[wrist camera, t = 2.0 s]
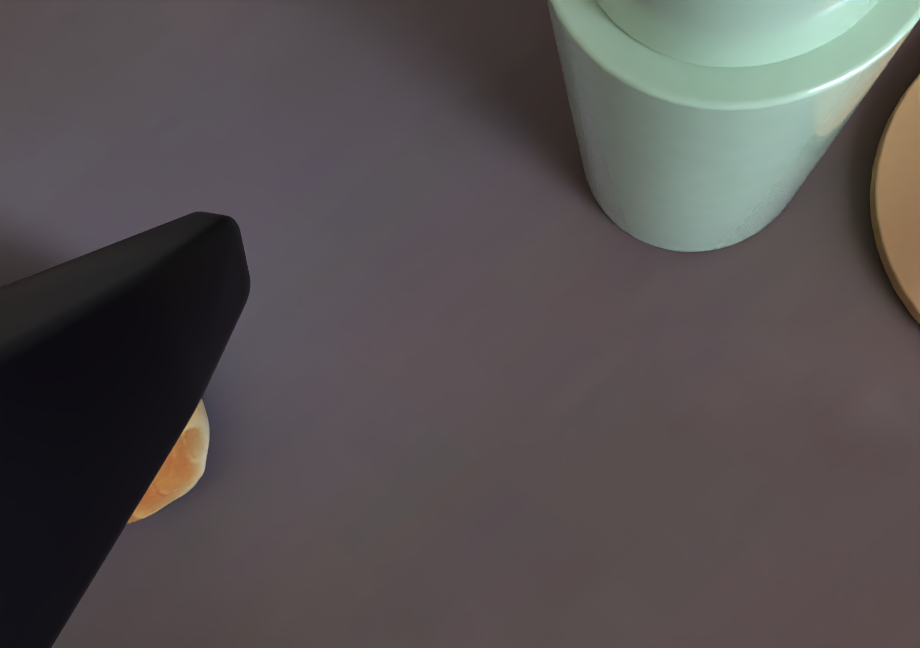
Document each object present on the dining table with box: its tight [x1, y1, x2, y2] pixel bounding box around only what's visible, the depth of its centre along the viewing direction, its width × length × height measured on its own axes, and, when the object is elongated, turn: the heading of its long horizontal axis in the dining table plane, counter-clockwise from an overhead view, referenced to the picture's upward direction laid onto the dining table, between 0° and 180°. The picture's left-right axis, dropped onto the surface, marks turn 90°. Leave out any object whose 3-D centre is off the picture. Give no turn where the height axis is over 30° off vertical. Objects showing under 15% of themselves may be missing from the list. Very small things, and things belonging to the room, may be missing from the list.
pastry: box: [127, 399, 209, 524], centre depth 21 cm, size 9×7×4 cm
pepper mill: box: [547, 0, 920, 252], centre depth 14 cm, size 5×5×13 cm
